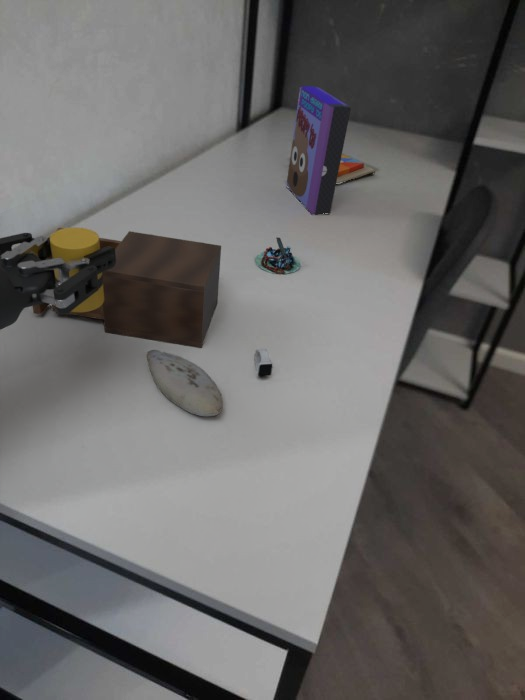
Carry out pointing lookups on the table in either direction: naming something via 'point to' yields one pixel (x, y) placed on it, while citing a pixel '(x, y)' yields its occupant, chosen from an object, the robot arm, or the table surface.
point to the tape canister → (77, 246)
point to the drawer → (93, 314)
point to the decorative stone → (185, 383)
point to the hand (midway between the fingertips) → (94, 246)
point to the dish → (278, 260)
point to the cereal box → (317, 148)
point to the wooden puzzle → (351, 169)
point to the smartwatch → (263, 362)
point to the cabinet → (162, 289)
